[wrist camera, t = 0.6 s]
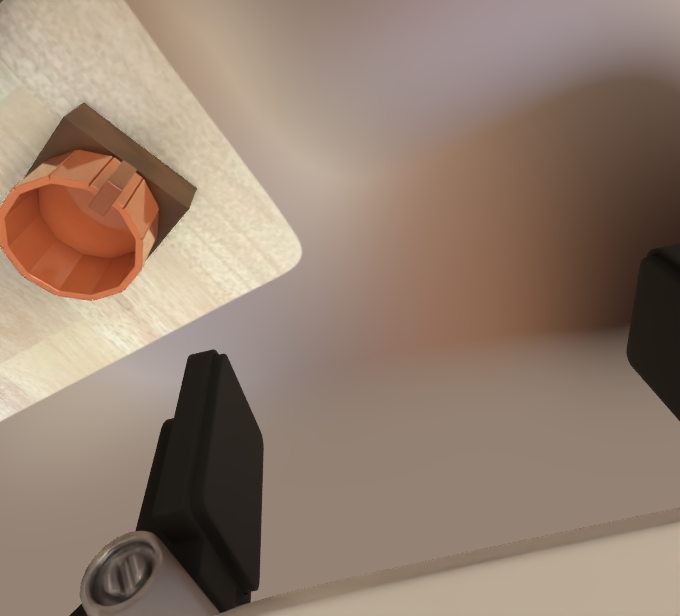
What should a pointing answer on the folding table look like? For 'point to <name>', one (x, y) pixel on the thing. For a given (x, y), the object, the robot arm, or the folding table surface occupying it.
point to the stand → (104, 138)
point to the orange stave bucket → (80, 225)
